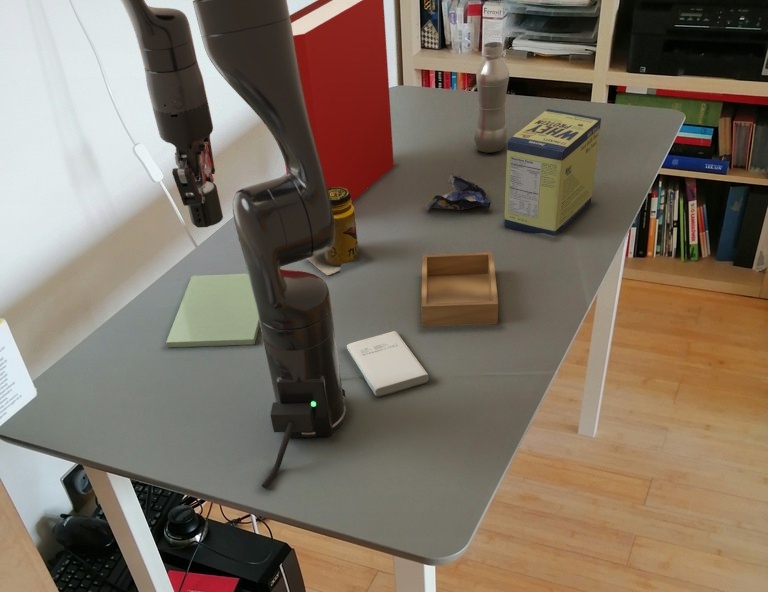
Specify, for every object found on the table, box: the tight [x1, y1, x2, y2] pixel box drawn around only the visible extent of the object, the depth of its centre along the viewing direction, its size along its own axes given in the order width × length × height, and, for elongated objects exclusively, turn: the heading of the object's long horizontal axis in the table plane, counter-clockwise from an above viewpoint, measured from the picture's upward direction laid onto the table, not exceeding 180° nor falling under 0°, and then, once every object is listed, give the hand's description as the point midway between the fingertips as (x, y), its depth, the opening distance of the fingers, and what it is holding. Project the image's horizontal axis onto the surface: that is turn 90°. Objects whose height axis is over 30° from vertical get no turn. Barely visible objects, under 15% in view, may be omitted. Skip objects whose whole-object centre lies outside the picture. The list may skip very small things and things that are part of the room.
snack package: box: [424, 173, 492, 213], centre depth 153 cm, size 12×6×12 cm
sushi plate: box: [165, 273, 260, 348], centre depth 135 cm, size 20×14×1 cm
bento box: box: [420, 251, 499, 327], centre depth 130 cm, size 16×12×4 cm
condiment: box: [306, 187, 359, 276], centre depth 140 cm, size 7×8×12 cm
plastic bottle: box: [474, 41, 510, 153], centre depth 164 cm, size 6×7×20 cm
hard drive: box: [346, 330, 429, 398], centre depth 121 cm, size 2×8×12 cm
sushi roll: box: [187, 181, 224, 227], centre depth 122 cm, size 5×5×5 cm
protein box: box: [503, 108, 602, 237], centre depth 144 cm, size 10×16×16 cm
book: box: [284, 0, 395, 202], centre depth 151 cm, size 27×8×32 cm, turn 151°
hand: (206, 217), depth 123 cm, fingers closed on sushi roll, 4 cm apart
